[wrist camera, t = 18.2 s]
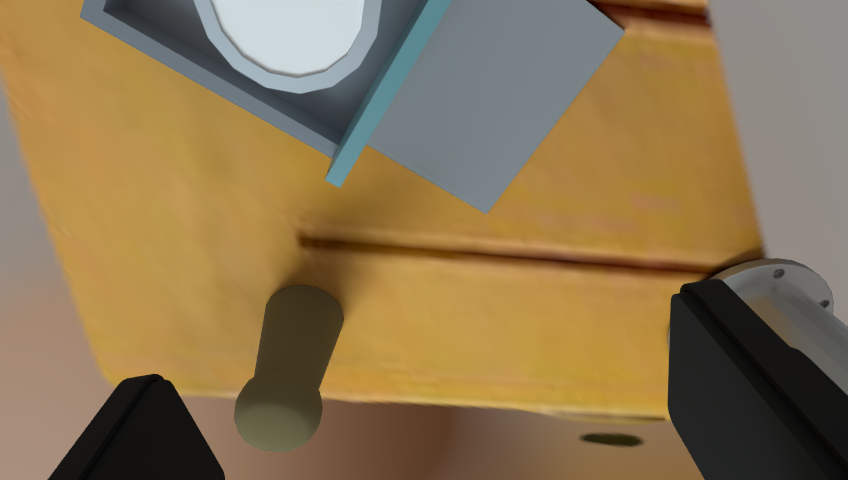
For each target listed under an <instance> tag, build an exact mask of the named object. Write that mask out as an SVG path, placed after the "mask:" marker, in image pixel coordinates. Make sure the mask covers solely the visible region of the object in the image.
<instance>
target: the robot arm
mask: <svg viewBox="0 0 848 480" xmlns="http://www.w3.org/2000/svg"><path fill="white" fill-rule="evenodd" d="M833 304H834V302H833V297H832V292H831V290H830V288H829V286H828V285H827V283H826V281H824V280H823V279H822V278H821V277H820V276H819V275H818V274H817V273H815V272H814V271H812V270H811V269H810V268H808V267H806V266H805V265H803V264H800V263H798V262H795V261H792V260H785V259H760V260H755V261H749V262H745V263H742V264H739V265H736V266H733V267H730V268H728V269H726V270H724V271H722V272H720V273H718V274H716V275H714V276H713V277H711V278H710V279H708V280H705V281H699V282H693V283H687V284H684V285H682V287H681V289H680V293H678V294H674V295H672V298H671V312H670V328H669V331H668V340H667V343H668V350H669V377H668V410H669V414H670V418H671V420H672V423H673V425H674V427H675V428H676V430H677V432H678V434H679V435H680V437H681V439H682V441H683V442H684V444H685V446H686V447H687V449H688V451H689V453H690V454H691V456H692V458H693V460H694V462H695V463H696V465H697V467H698V469H699V470H700V472H701V474H702V476H703V477H704V479H705V480H848V327H847V326H846V325H845V324H844V323H842V322H841V321H840V320H839V319H837V318H836V317H835V316H834V315H833ZM48 480H225V475H224V472H223V470H222V468H221V466H220V464H219V463H218V461H217V459H216V458H215V456H214V454H213V453H212V451H211V449H210V447H209V445H208V444H207V442H206V440H205V439H204V437H203V435H202V433H201V432H200V430H199V428H198V427H197V425H196V423H195V421H194V420H193V418H192V416H191V415H190V413H189V411H188V409H187V408H186V406H185V404H184V403H183V401H182V399H181V397H180V396H179V394H178V392H177V391H176V389H175V387H174V385H173V384H172V383H171V382H170V381H168V380H164V378H163V377H162V376H160V375H158V374H151V375H145V376H139V377H133V378H127V379H125V380H123V381H122V382H121V383H120V384H119V385H118V386H117V387H116V389H115V390H114V392H113V393H112V394H111V396H110V397H109V398H108V399H107V401H106V402H105V403H104V405H103V406H102V408H101V409H100V410H99V412H98V413H97V414H96V416H95V417H94V418H93V420H92V421H91V422H90V424H89V425H88V426H87V428H86V429H85V430H84V432H83V433H82V434H81V436H80V437H79V438H78V440H77V441H76V442H75V444H74V445H73V446H72V448H71V449H70V450H69V452H68V453H67V454H66V456H65V457H64V458H63V460H62V461H61V462H60V464H59V465H58V467H57V468H56V469H55V471H54V472H53V473H52V475H51V476H50V477H49V479H48Z"/></svg>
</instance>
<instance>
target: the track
mask: <svg viewBox="0 0 848 480" xmlns="http://www.w3.org/2000/svg"><path fill="white" fill-rule="evenodd" d="M624 33H625V31H624V30H622V29H621V28H620V27H619V26H617V25H616V24H615V23H614V22H612V21H611V20H610V19H609V18H607V17H606V16H605V15H604V14H602V13H601V12H600V11H599V10H597V9H596V8H595V7H594V6H592V5H591V4H590V3H589V2H587V1H586V0H452V1H451V3H450V4H449V6H448V8H447V10H446V11H445V13H444V15H443V16H442V18H441V20H440V21H439V23H438V25H437V26H436V28H435V30H434V31H433V33H432V35H431V36H430V38H429V40H428V41H427V43H426V45H425V46H424V48H423V50H422V51H421V53H420V55H419V56H418V58H417V60H416V61H415V63H414V65H413V66H412V68H411V70H410V71H409V73H408V75H407V76H406V78H405V80H404V81H403V83H402V85H401V86H400V88H399V90H398V91H397V93H396V95H395V96H394V98H393V100H392V101H391V103H390V105H389V106H388V108H387V110H386V111H385V113H384V115H383V116H382V118H381V120H380V121H379V123H378V125H377V126H376V128H375V130H374V132H373V133H372V135H371V137H370V138H369V140H368V142H367V143H366V144H367V145H368V146H370V147H372V148H373V149H375V150H377V151H379V152H380V153H382V154H384V155H385V156H387V157H389V158H391V159H392V160H394V161H396V162H397V163H399V164H401V165H403V166H404V167H406V168H408V169H409V170H411V171H413V172H415V173H416V174H418V175H420V176H421V177H423V178H425V179H427V180H428V181H430V182H432V183H433V184H435V185H437V186H439V187H440V188H442V189H444V190H446V191H447V192H449V193H451V194H452V195H454V196H456V197H458V198H459V199H461V200H463V201H464V202H466V203H468V204H470V205H471V206H473V207H475V208H476V209H478V210H480V211H482V212H483V213H485V214H487V213H488V211H489V210H490V209H491V208H492V206H493V205H494V204H495V202H496V201H497V200H498V198H499V197H500V196H501V194H502V193H503V192H504V190H505V189H506V188H507V187H508V185H509V184H510V183H511V181H512V180H513V179H514V177H515V176H516V175H517V173H518V172H519V171H520V169H521V168H522V167H523V166H524V164H525V163H526V162H527V160H528V159H529V158H530V156H531V155H532V154H533V152H534V151H535V150H536V149H537V147H538V146H539V145H540V143H541V142H542V141H543V139H544V138H545V137H546V135H547V134H548V133H549V131H550V130H551V129H552V128H553V126H554V125H555V124H556V122H557V121H558V120H559V118H560V117H561V116H562V114H563V113H564V112H565V110H566V109H567V108H568V107H569V105H570V104H571V103H572V101H573V100H574V99H575V97H576V96H577V95H578V93H579V92H580V91H581V89H582V88H583V87H584V86H585V84H586V83H587V82H588V80H589V79H590V78H591V76H592V75H593V74H594V72H595V71H596V70H597V69H598V67H599V66H600V65H601V63H602V62H603V61H604V59H605V58H606V57H607V55H608V54H609V53H610V51H611V50H612V49H613V48H614V46H615V45H616V44H617V42H618V41H619V40H620V38H621V37H622V36H623V34H624Z"/></svg>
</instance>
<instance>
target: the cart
mask: <svg viewBox="0 0 848 480" xmlns="http://www.w3.org/2000/svg"><path fill="white" fill-rule="evenodd" d="M451 1H452V0H382V2H381V9H380V17H379V24H378V31H377V37H376V38H375V40H374V42H373V44H372V45H371V47H370V49H369V51H368V52H367V54H366V56H365V57H364V59H363V61H362V63H361V64H360V66H359V67H358V68H357V69H355V70H354V71H353V72H351V73H350V74H349V75H347V76H346V77H345V78H343V79H342V80H341V81H339V82H338V83H337V84H335V85H334V86H332V87H328V88H324V89H319V90H315V91H310V92H306V93H301V94H299V93H293V92H288V91H282V90H277V89H271V88H266V87H264V86H262V85H261V84H259V83H257V82H256V81H254V80H252V79H251V78H249V77H247V76H246V75H244V74H242V73H241V72H239V71H237V70H236V69H234V68H233V67H232V66H231V65H230V63H229V62H228V61H227V60H226V59H225V57H224V56H223V55H222V54H221V53H220V51H219V50H218V49H217V48H216V47H215V45H214V44H213V43H212V42H211V41H210V39H209V38H208V36H207V34H206V31H205V29H204V26H203V23H202V21H201V18H200V16H199V13H198V11H197V8H196V5H195V3H194V0H84V3H83V7H82V10H81V14H80V17H81V18H82V19H84V20H86V21H88V22H89V23H91V24H93V25H95V26H97V27H98V28H100V29H102V30H104V31H106V32H107V33H109V34H111V35H113V36H114V37H116V38H118V39H120V40H122V41H123V42H125V43H127V44H129V45H131V46H132V47H134V48H136V49H138V50H139V51H141V52H143V53H145V54H147V55H148V56H150V57H152V58H154V59H156V60H157V61H159V62H161V63H163V64H164V65H166V66H168V67H170V68H172V69H173V70H175V71H177V72H179V73H181V74H182V75H184V76H186V77H188V78H189V79H191V80H193V81H195V82H197V83H198V84H200V85H202V86H204V87H205V88H207V89H209V90H211V91H213V92H214V93H216V94H218V95H220V96H222V97H223V98H225V99H227V100H229V101H230V102H232V103H234V104H236V105H238V106H239V107H241V108H243V109H245V110H247V111H248V112H250V113H252V114H254V115H255V116H257V117H259V118H261V119H263V120H264V121H266V122H268V123H270V124H272V125H273V126H275V127H277V128H279V129H280V130H282V131H284V132H286V133H288V134H289V135H291V136H293V137H295V138H297V139H298V140H300V141H302V142H304V143H305V144H307V145H309V146H311V147H313V148H314V149H316V150H318V151H320V152H321V153H323V154H325V155H327V156H329V157H330V158H332V160H331V163H330V166H329V169H328V172H327V175H326V178H325V180H326V181H328V182H330V183H331V184H333V185H335V186H337V187H339V188H340V187H341V185H342V183H343V182H344V180H345V178H346V177H347V175H348V173H349V172H350V170H351V168H352V167H353V165H354V163H355V162H356V160H357V158H358V157H359V155H360V153H361V152H362V150H363V148H364V147H365V145H366V143H367V142H368V140H369V138H370V137H371V135H372V133H373V132H374V130H375V128H376V126H377V125H378V123H379V121H380V120H381V118H382V116H383V115H384V113H385V111H386V110H387V108H388V106H389V105H390V103H391V101H392V100H393V98H394V96H395V95H396V93H397V91H398V90H399V88H400V86H401V85H402V83H403V81H404V80H405V78H406V76H407V75H408V73H409V71H410V70H411V68H412V66H413V65H414V63H415V61H416V60H417V58H418V56H419V55H420V53H421V51H422V50H423V48H424V46H425V45H426V43H427V41H428V40H429V38H430V36H431V35H432V33H433V31H434V30H435V28H436V26H437V25H438V23H439V21H440V20H441V18H442V16H443V15H444V13H445V11H446V10H447V8H448V6H449V4H450V3H451Z"/></svg>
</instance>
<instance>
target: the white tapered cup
mask: <svg viewBox="0 0 848 480" xmlns="http://www.w3.org/2000/svg"><path fill="white" fill-rule="evenodd" d="M381 2H382V0H194V3H195V5H196V8H197V11H198V13H199V16H200V18H201V21H202V23H203V26H204V29H205V31H206V34H207V36H208V38H209V39H210V41H211V42H212V43H213V44H214V45H215V47H216V48H217V49H218V50H219V51H220V53H221V54H222V55H223V56H224V57H225V59H226V60H227V61H228V62H229V63H230V65H231V66H232V67H233V68H234V69H236V70H237V71H239V72H241V73H242V74H244V75H246V76H247V77H249V78H251V79H252V80H254V81H256V82H257V83H259V84H261V85H262V86H264V87H266V88H271V89H277V90H282V91H288V92H293V93H299V94H301V93H306V92H310V91H315V90H319V89H324V88H328V87H332V86H334V85H335V84H337V83H338V82H339V81H341V80H342V79H343V78H345V77H346V76H347V75H349V74H350V73H351V72H353V71H354V70H355V69H357V68H358V67H359V66H360V64H361V63H362V61H363V59H364V57H365V56H366V54H367V52H368V51H369V49H370V47H371V45H372V44H373V42H374V40H375V38H376V37H377V31H378V24H379V17H380V9H381Z"/></svg>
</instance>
